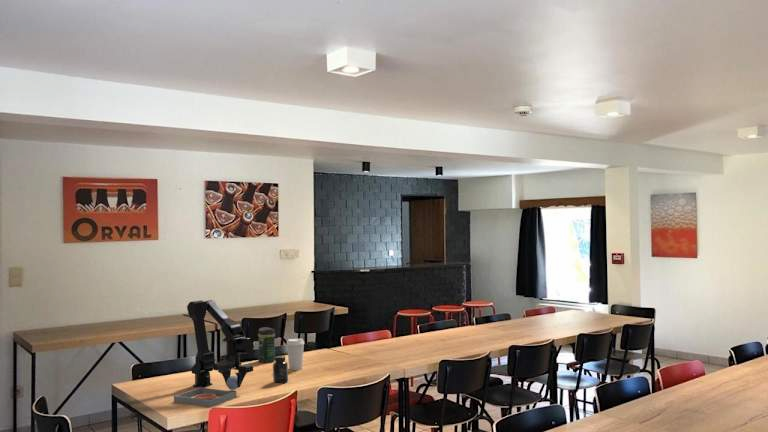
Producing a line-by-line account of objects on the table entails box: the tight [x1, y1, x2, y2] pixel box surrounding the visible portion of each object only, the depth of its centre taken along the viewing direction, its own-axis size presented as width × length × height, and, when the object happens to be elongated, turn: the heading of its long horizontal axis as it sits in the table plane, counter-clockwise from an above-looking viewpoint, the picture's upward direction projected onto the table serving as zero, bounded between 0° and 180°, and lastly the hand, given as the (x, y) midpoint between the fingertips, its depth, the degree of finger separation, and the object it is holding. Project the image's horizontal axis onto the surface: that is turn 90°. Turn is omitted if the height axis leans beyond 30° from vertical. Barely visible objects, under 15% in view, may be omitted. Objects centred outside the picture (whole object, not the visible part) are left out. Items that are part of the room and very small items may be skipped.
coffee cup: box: [285, 338, 305, 371], centre depth 333 cm, size 10×10×15 cm
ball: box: [225, 375, 239, 391], centre depth 289 cm, size 6×6×6 cm
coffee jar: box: [257, 326, 276, 363], centre depth 354 cm, size 10×8×19 cm
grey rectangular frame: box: [173, 387, 237, 408], centre depth 274 cm, size 20×16×2 cm
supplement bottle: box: [272, 355, 289, 384], centre depth 304 cm, size 7×7×12 cm
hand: (233, 386), depth 289 cm, fingers closed on ball, 6 cm apart
